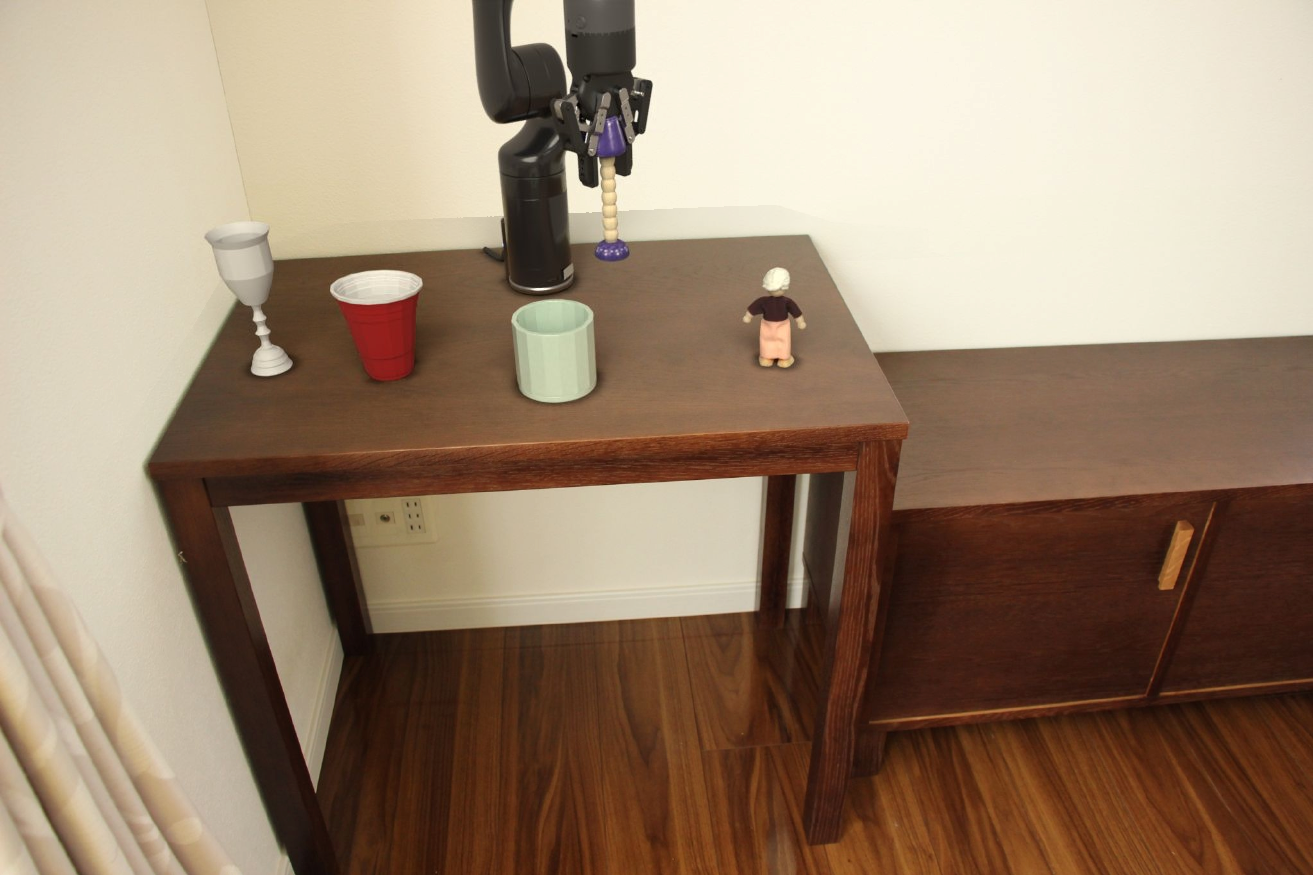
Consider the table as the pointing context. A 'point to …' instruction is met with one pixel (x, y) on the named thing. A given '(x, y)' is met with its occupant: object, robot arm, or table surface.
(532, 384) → the glazed cup
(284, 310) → the table surface
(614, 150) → the toy lamp
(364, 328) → the plastic cup
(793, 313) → the grandmother figurine
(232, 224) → the chalice
